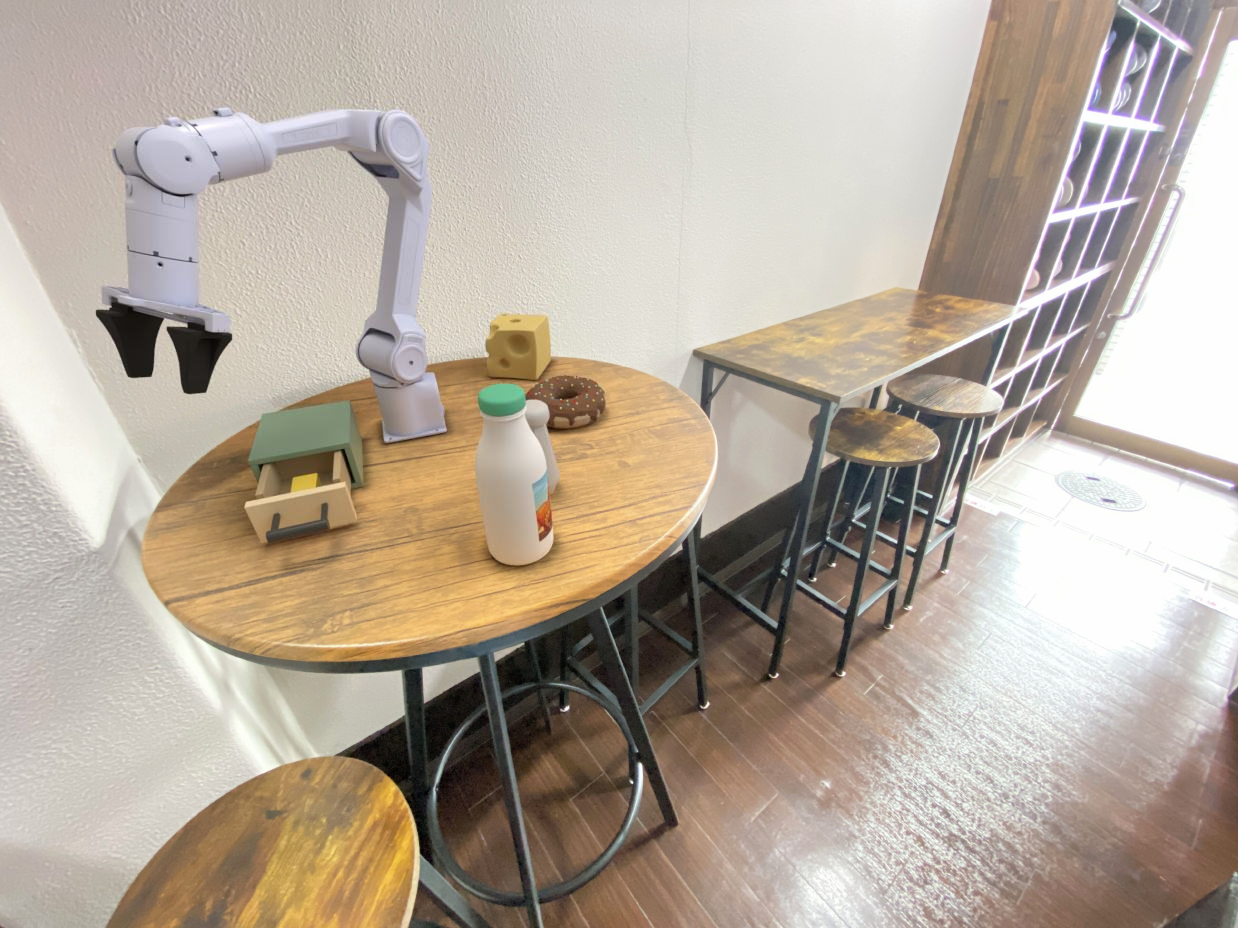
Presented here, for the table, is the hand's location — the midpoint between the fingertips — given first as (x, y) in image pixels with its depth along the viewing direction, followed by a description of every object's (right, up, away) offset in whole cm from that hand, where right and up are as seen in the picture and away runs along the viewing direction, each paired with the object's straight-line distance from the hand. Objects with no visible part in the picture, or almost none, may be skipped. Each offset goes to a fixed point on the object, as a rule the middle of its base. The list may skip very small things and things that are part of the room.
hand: (167, 384), depth 59 cm
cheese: (+31, +10, +49) cm, 59 cm away
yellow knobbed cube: (+11, -13, +8) cm, 19 cm away
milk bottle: (+39, -19, +4) cm, 43 cm away
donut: (+41, 0, +32) cm, 52 cm away
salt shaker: (+39, -12, +14) cm, 43 cm away
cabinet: (+7, -10, +18) cm, 21 cm away
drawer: (+12, -15, +8) cm, 21 cm away
